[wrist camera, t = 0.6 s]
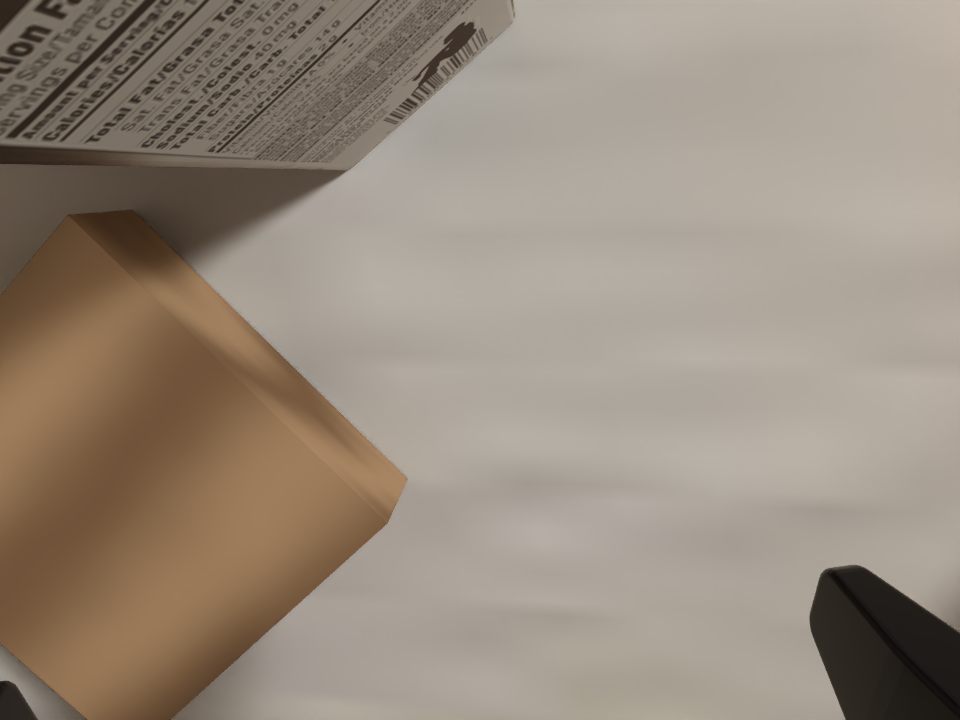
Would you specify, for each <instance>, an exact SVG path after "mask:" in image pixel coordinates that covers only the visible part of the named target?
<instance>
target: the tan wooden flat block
mask: <svg viewBox="0 0 960 720" xmlns="http://www.w3.org/2000/svg"><path fill="white" fill-rule="evenodd" d="M407 480H408V479H407V478H406V477H405V476H404V475H403V474H402V473H401V472H400V471H399V470H398V469H397V468H396V467H395V466H394V465H393V464H392V463H391V462H390V461H389V460H388V459H387V458H386V457H385V456H384V455H383V454H382V453H381V452H379V451H378V450H377V449H376V448H375V447H374V446H373V445H372V444H371V443H370V442H369V441H368V440H367V439H366V438H365V437H364V436H363V435H362V434H361V433H360V432H359V431H358V430H357V429H356V428H355V427H354V426H353V425H352V424H351V423H350V422H349V421H348V420H347V419H346V418H345V417H344V416H343V415H342V414H341V413H340V412H339V411H338V410H337V409H335V408H334V407H333V406H332V405H331V404H330V403H329V402H328V401H327V400H326V399H325V398H324V397H323V396H322V395H321V394H320V393H319V392H318V391H317V390H316V389H315V388H314V387H313V386H312V385H311V384H310V383H309V382H308V381H307V380H306V379H305V378H304V377H303V376H302V375H301V374H300V373H299V372H298V371H297V370H296V369H295V368H294V367H293V366H291V365H290V364H289V363H288V362H287V361H286V360H285V359H284V358H283V357H282V356H281V355H280V354H279V353H278V352H277V351H276V350H275V349H274V348H273V347H272V346H271V345H270V344H269V343H268V342H267V341H266V340H265V339H264V338H263V337H262V336H261V335H260V334H259V333H258V332H257V331H256V330H255V329H254V328H253V327H252V326H251V325H250V324H249V323H247V322H246V321H245V320H244V319H243V318H242V317H241V316H240V315H239V314H238V313H237V312H236V311H235V310H234V309H233V308H232V307H231V306H230V305H229V304H228V303H227V302H226V301H225V300H224V299H223V298H222V297H221V296H220V295H219V294H218V293H217V292H216V291H215V290H214V289H213V288H212V287H211V286H210V285H209V284H208V283H207V282H206V281H205V280H203V279H202V278H201V277H200V276H199V275H198V274H197V273H196V272H195V271H194V270H193V269H192V268H191V267H190V266H189V265H188V264H187V263H186V262H185V261H184V260H183V259H182V258H181V257H180V256H179V255H178V254H177V253H176V252H175V251H174V250H173V249H172V248H171V247H170V246H169V245H168V244H167V243H166V242H165V241H164V240H163V239H162V238H161V237H159V236H158V235H157V234H156V233H155V232H154V231H153V230H152V229H151V228H150V227H149V226H148V225H147V224H146V223H145V222H144V221H143V220H142V219H141V218H140V217H139V216H138V215H137V214H136V213H135V212H134V211H133V210H127V211H114V212H101V213H88V214H76V215H68V216H67V217H66V218H65V219H64V220H63V222H62V223H61V224H60V225H59V226H58V228H57V229H56V230H55V231H54V232H53V234H52V235H51V236H50V237H49V238H48V240H47V241H46V242H45V243H44V244H43V246H42V247H41V248H40V249H39V250H38V251H37V253H36V254H35V255H34V256H33V257H32V259H31V260H30V261H29V262H28V263H27V265H26V266H25V267H24V268H23V269H22V271H21V272H20V273H19V274H18V275H17V277H16V278H15V279H14V280H13V281H12V283H11V284H10V285H9V286H8V287H7V289H6V290H5V291H4V292H3V293H2V295H1V296H0V644H1V645H2V646H4V647H5V648H6V649H7V650H8V651H9V652H11V653H12V654H13V655H14V656H15V657H16V658H17V659H19V660H20V661H21V662H22V663H23V664H24V665H25V666H27V667H28V668H29V669H30V670H31V671H32V672H33V673H35V674H36V675H37V676H38V677H39V678H40V679H41V680H43V681H44V682H45V683H46V684H47V685H48V686H49V687H51V688H52V689H53V690H54V691H55V692H56V693H58V694H59V695H60V696H61V697H62V698H63V699H64V700H66V701H67V702H68V703H69V704H70V705H71V706H72V707H74V708H75V709H76V710H77V711H78V712H79V713H80V714H82V715H83V716H84V717H85V718H86V719H87V720H170V719H171V718H173V717H174V716H175V715H176V714H177V713H178V712H179V711H180V710H181V709H182V708H184V707H185V706H186V705H187V704H188V703H189V702H190V701H191V700H192V699H194V698H195V697H196V696H197V695H198V694H199V693H200V692H201V691H202V690H203V689H205V688H206V687H207V686H208V685H209V684H210V683H211V682H212V681H213V680H215V679H216V678H217V677H218V676H219V675H220V674H221V673H222V672H223V671H225V670H226V669H227V668H228V667H229V666H230V665H231V664H232V663H233V662H234V661H236V660H237V659H238V658H239V657H240V656H241V655H242V654H243V653H244V652H246V651H247V650H248V649H249V648H250V647H251V646H252V645H253V644H254V643H255V642H257V641H258V640H259V639H260V638H261V637H262V636H263V635H264V634H265V633H267V632H268V631H269V630H270V629H271V628H272V627H273V626H274V625H275V624H277V623H278V622H279V621H280V620H281V619H282V618H283V617H284V616H285V615H286V614H288V613H289V612H290V611H291V610H292V609H293V608H294V607H295V606H296V605H298V604H299V603H300V602H301V601H302V600H303V599H304V598H305V597H306V596H307V595H309V594H310V593H311V592H312V591H313V590H314V589H315V588H316V587H317V586H319V585H320V584H321V583H322V582H323V581H324V580H325V579H326V578H327V577H329V576H330V575H331V574H332V573H333V572H334V571H335V570H336V569H337V568H338V567H340V566H341V565H342V564H343V563H344V562H345V561H346V560H347V559H348V558H350V557H351V556H352V555H353V554H354V553H355V552H356V551H357V550H358V549H359V548H361V547H362V546H363V545H364V544H365V543H366V542H367V541H368V540H369V539H371V538H372V537H373V536H374V535H375V534H376V533H377V532H378V531H379V530H381V529H382V528H383V527H384V526H385V525H386V524H387V523H388V521H389V519H390V517H391V514H392V512H393V510H394V508H395V506H396V503H397V501H398V499H399V497H400V495H401V493H402V490H403V488H404V486H405V484H406V482H407Z"/></svg>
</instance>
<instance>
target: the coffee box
mask: <svg viewBox="0 0 960 720" xmlns="http://www.w3.org/2000/svg"><path fill="white" fill-rule="evenodd" d="M514 17H515V11H514V4H513V0H0V164H41V165H103V166H163V167H221V168H269V169H303V170H305V169H312V170H314V169H319V170H349V169H350V168H352V167H353V166H354V165H356V164H357V163H358V162H359V161H360V160H361V159H362V158H363V157H364V156H366V155H367V154H368V153H369V152H370V151H371V150H372V149H373V148H374V147H375V146H377V145H378V144H379V143H380V142H381V141H382V140H383V139H384V138H386V137H387V136H388V135H389V134H390V133H391V132H392V131H394V130H395V129H396V128H397V127H398V126H399V125H400V124H402V123H403V122H404V121H405V120H406V119H407V118H408V117H409V116H411V115H412V114H413V113H414V112H415V111H416V110H417V109H418V108H420V107H421V106H422V105H423V104H424V103H425V102H426V101H427V100H428V99H430V98H431V97H432V96H433V95H434V94H435V93H436V92H437V91H438V90H440V89H441V88H442V87H443V86H444V85H445V84H446V83H447V82H448V81H450V80H451V79H452V78H453V77H454V76H455V75H456V74H457V73H458V72H460V71H461V70H462V69H463V68H464V67H465V66H466V65H467V64H468V63H469V62H471V61H472V60H473V59H474V58H475V57H476V56H477V55H478V54H479V53H480V52H481V51H482V50H484V49H485V48H486V47H487V46H488V45H489V44H490V43H491V42H492V41H494V40H495V39H496V38H497V37H498V36H499V35H500V34H501V33H502V32H504V31H505V30H506V29H507V28H508V27H509V26H510V25H511V24H512V22H513V21H514Z"/></svg>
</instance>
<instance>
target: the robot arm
mask: <svg viewBox="0 0 960 720" xmlns="http://www.w3.org/2000/svg"><path fill="white" fill-rule="evenodd" d="M810 628H811V632H812V635H813V638H814V641H815V643H816V646H817V648H818V651H819V653H820V656H821V658H822V661H823V663H824V666H825V669H826V671H827V674H828V676H829V679H830V681H831V684H832V686H833V689H834V691H835V694H836V696H837V699H838V701H839V704H840V707H841V709H842V712H843V714H844V717H845V719H846V720H960V632H959V631H957V630H956V629H954V628H953V627H951V626H950V625H948V624H947V623H945V622H944V621H942V620H941V619H939V618H938V617H937V616H935V615H934V614H932V613H931V612H929V611H928V610H926V609H925V608H923V607H922V606H920V605H919V604H918V603H916V602H915V601H913V600H912V599H910V598H909V597H907V596H906V595H904V594H903V593H901V592H900V591H898V590H897V589H896V588H894V587H893V586H891V585H890V584H888V583H887V582H885V581H884V580H882V579H881V578H879V577H878V576H876V575H875V574H874V573H872V572H871V571H869V570H868V569H866V568H864V567H861V566H858V565H848V566H841V567H833V568H828V569H825V570H824V571H823V572H822V573H821V575H820V578H819V582H818V586H817V589H816V593H815V597H814V600H813V604H812V608H811V611H810ZM0 720H38V719H37V718H36V716H35V715H34V713H33V711H32V710H31V708H30V707H29V705H28V703H27V702H26V700H25V699H24V697H23V695H22V694H21V692H20V691H19V689H18V688H17V686H16V685H15V684H13V683H11V682H9V681H0Z"/></svg>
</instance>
